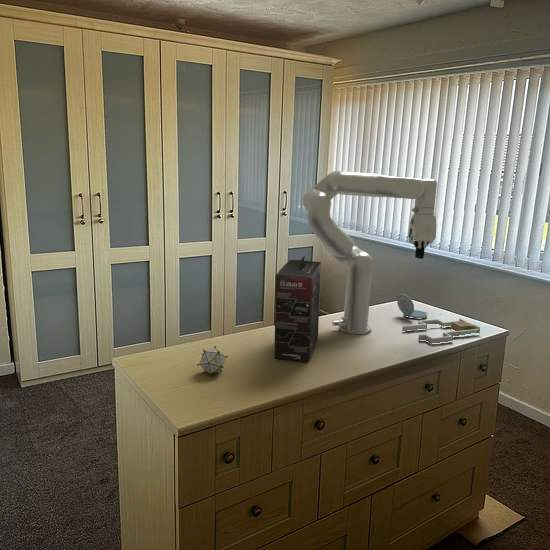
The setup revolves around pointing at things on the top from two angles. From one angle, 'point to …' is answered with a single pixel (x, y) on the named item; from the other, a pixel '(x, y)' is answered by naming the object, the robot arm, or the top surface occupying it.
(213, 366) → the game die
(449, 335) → the box
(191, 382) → the top surface
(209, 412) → the top surface
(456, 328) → the walnut block
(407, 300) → the pocket watch
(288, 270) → the headset box
